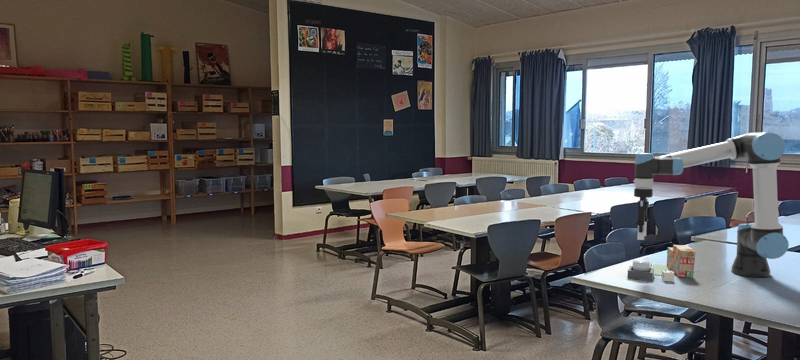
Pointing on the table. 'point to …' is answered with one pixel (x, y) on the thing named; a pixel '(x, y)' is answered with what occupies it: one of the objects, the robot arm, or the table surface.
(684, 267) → the printed cardboard box
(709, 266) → the table surface
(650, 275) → the box
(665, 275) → the die
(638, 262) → the white rounded block
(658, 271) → the square one pad
